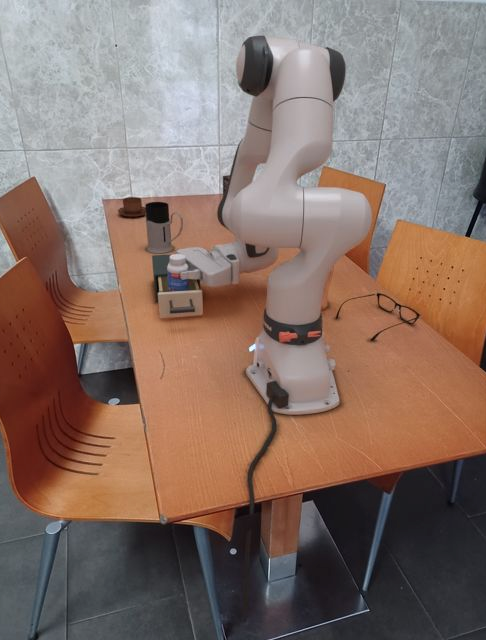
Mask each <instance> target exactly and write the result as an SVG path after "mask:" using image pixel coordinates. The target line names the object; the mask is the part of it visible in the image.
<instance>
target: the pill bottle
mask: <svg viewBox="0 0 486 640" xmlns="http://www.w3.org/2000/svg"><path fill="white" fill-rule="evenodd" d="M185 261H186V259H185V255H182V254H176V253H173V255H171V256H170V264H169V265H168V266H167V277H168V292H175V291H189V279H184V280H182V279H181V278H180V277H179V272H180V271H184V270H186V271H189V270H188V265H187V264H186V263H185Z"/></svg>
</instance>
